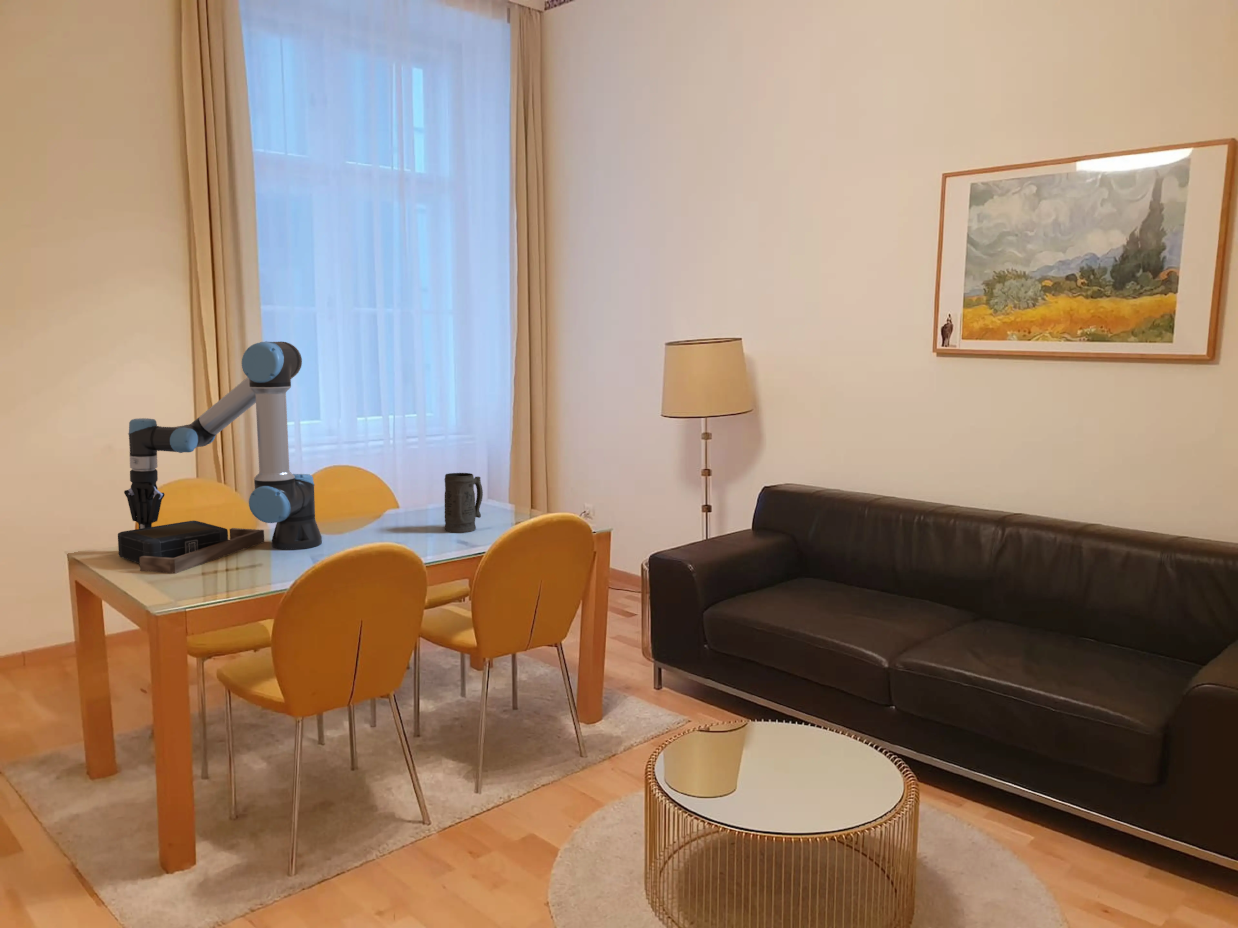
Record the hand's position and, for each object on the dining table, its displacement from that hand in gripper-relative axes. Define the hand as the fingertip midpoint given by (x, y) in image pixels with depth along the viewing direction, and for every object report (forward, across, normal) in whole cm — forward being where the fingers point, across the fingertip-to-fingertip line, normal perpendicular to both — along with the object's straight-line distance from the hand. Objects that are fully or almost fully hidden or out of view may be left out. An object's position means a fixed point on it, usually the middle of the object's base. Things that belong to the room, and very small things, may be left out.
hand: (145, 544), depth 283 cm
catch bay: (+1, +22, 0) cm, 22 cm away
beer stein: (-1, +82, +58) cm, 100 cm away
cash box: (+2, +13, -3) cm, 13 cm away
